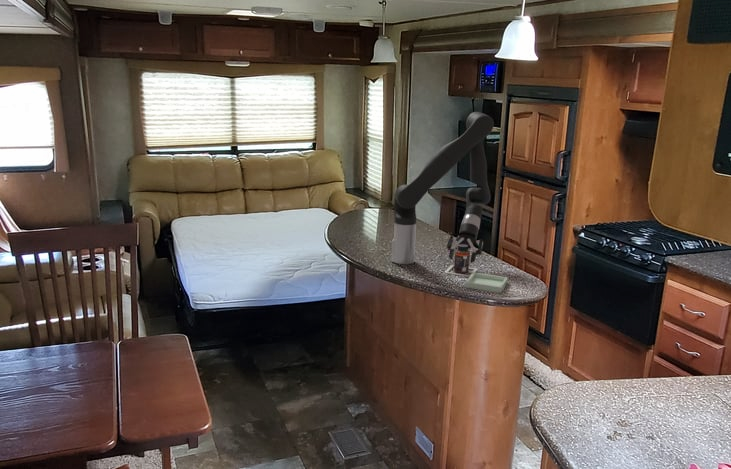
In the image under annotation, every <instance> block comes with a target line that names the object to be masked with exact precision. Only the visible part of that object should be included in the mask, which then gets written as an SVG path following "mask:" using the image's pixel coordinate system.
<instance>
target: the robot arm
mask: <svg viewBox="0 0 731 469" xmlns="http://www.w3.org/2000/svg"><path fill="white" fill-rule="evenodd" d="M465 126H466V130H465V132H464V133H463V134H462V135H460V136H459V137H457V138H456V139H454V140H452V141H450V142H449V143H447V144H445V145H443V146H442V147H441V148H440V149H438V150H437V151H436V152H435V153H434V154H433V155H432V156H431V158H430V159H429V160H428V161H427V162H426V164H425V165H424V166H423V169H422V170H421V171H420V173H419V174H418V176H417V177H416V178H414V179H413V180H412V181H411V182H410V183H409V184H401V185H399V186H398V187H397V189H396V190H395V192H394V200H393V201H394V202H393V203H394V204H393V215H394V216H393V217H394V224H393V226H394V227H393V239H392V240H391V257H390V258H391V259H390V260H391V261H390V262H391V263H392V262H393V263H395V264H398V265H411V264H414V262H415V256H416V255H415V253H416V252H415V250H416V237H417V236H416V233H417V214H416V206H417V204H418V203H419V202H420V201H421V200H422V198H423V197H424V196H425V195H426V193H427V192H429V191H430V189H431V188H432V187H433V186H434V185H436V184H437V183H438V182H439V181H440V180H441V179H442V178H444V177H445V176H446V175H447V173H449V172H450V171H451V170H452V169H453V168H454V167H455V166H456V165H457V164H458V163H459V162H460V161H461V160H462V159H463V158H464V157H465V156H466V155H467V154H468V153H469V159H470V160H469V165H470V166H469V167H470V168H469V175H470V176H469V179H470V180H469V181H470V182H471V183H472V184H474V185H477V186H479V187H469V188H467V190H466V192H465V200H466V206H465V212H464V215H463V219H462V221H461V224H460V227H459V232H458V236H456V237H455V236H453V235H450V236H449V239H448V241H447V244H446V248H447V250H448V251H449V254H448V257H449V259H450V260H453V258H454V257H455V251H456V250H457V249H458V245H459V244H465V245H468V250H470V251H471V253H472V254H471V255H470V259H469V262H470V263H471V264H473V263H474V262H475V261H476V257H477V255H480V256H481V255H482V252H483V248H484V240H483V239H481V238H480V239H479V240H477V238H478V233H479V230H480V226H481V220H482V215H483V207H481V206H480V205H482V206H483V205H488V204H489V203H490V201H491V198H492V197H491V196H492V195H491V191H490V187H489V184H488V175H487V174H488V165H487V162H488V161H487V158H486V153H485V149H484V139H485V138H487V137H488V136H489V135H490V134H491V133H492V131H493V130H494V127H495V122H494V119H493V117H491V116H490V115H487V114H485V113H483V112H480V111H473V112H471V113H470V114H469V115H468V117H467V119H466V122H465ZM453 243H454V244H453ZM476 244H477V246H478V248H477V249H476V248H475V245H476Z"/></svg>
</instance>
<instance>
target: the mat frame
mask: <svg viewBox="0 0 731 469" xmlns="http://www.w3.org/2000/svg"><path fill="white" fill-rule="evenodd" d="M452 269H454V264H451V265H450V266H449V267H448V268H447V269H446V270H445V271H444V272H443V274H445V275H452V276H457V277H466V278H469V277H470V276H471V275H472V273H473V272H475V273H478V270H479V269H478V268H476V267H475V268H474V267H469V270H468V271H471V273H470V274H466V273H457V272H451V271H452Z"/></svg>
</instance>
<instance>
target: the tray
mask: <svg viewBox="0 0 731 469" xmlns="http://www.w3.org/2000/svg"><path fill="white" fill-rule="evenodd" d="M472 272H473V271H472ZM472 272H471V273H472ZM508 280H509V277H508V276H500V275H495V274H487V273H482V272H481V273H480V272H476V273H475V272H473V273H472V275H471V276H470V277H467V279H466V281H465V283H464V288H465V289H471V290H477V291H483V292H491V293H495V294H501V293H502V292H503V291H504V289H505V287H506V285H507V284H508Z"/></svg>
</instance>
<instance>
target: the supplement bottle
mask: <svg viewBox="0 0 731 469" xmlns="http://www.w3.org/2000/svg"><path fill="white" fill-rule="evenodd" d="M470 253H471V252H470V250H469V249H468V245H465V244H459V245H458V249H457V250H456V251H454V264H453V265H454V267H453V271H454V273H458V274H468V273H469V271H470V270H469V268H470V259H471V255H470Z"/></svg>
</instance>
